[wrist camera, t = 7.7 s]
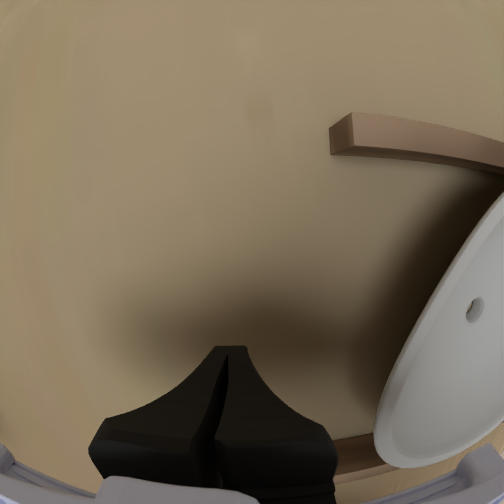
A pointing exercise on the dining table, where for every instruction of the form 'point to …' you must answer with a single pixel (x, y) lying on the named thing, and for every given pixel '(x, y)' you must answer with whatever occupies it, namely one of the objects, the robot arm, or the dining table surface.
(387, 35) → the dining table surface
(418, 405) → the dish
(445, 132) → the caddy
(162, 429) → the robot arm
